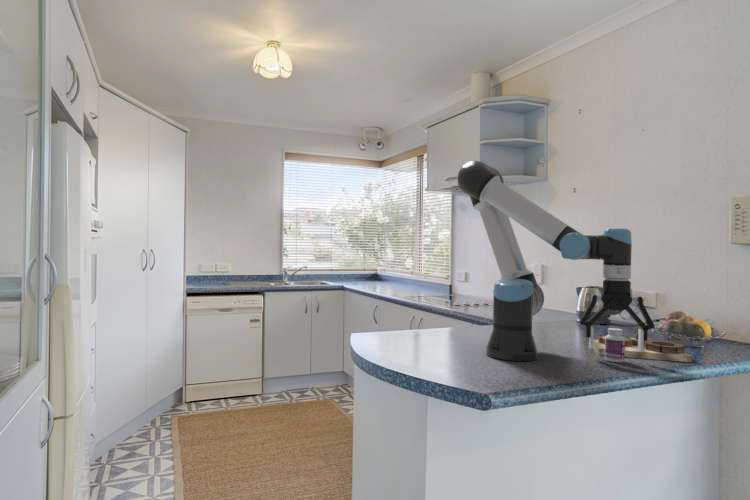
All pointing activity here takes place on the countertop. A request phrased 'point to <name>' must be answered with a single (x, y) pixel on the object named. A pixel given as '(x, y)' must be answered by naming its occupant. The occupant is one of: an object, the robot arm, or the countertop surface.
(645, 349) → the gear board
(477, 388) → the countertop surface
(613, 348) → the pill bottle
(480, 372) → the countertop surface
